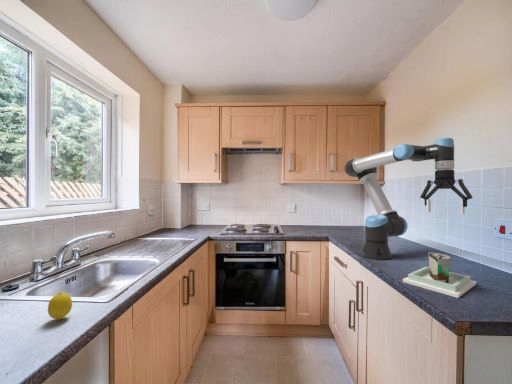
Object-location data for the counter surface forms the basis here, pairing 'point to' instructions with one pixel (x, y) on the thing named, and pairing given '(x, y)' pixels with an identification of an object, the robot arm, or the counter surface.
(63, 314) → the lemon
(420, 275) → the pocket plate
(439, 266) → the food container
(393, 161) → the robot arm
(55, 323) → the counter surface
